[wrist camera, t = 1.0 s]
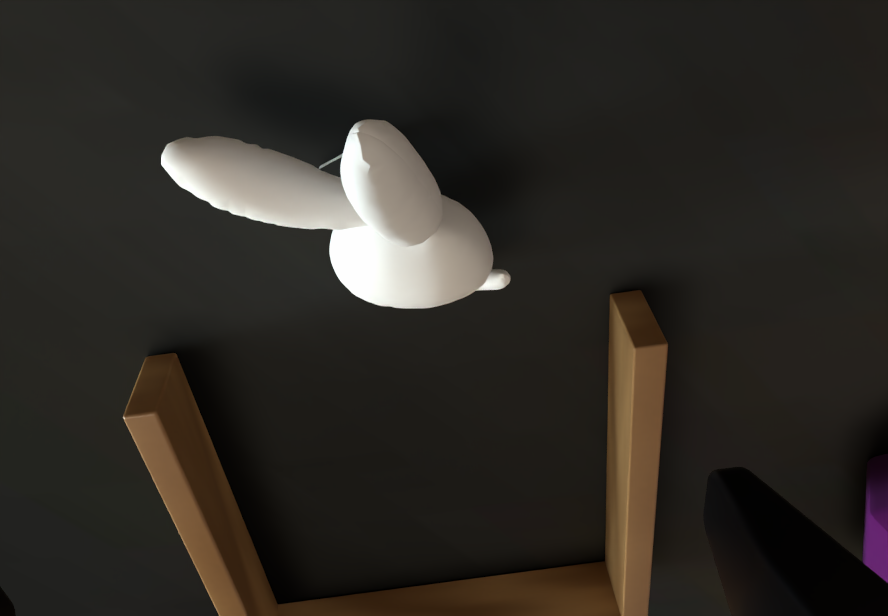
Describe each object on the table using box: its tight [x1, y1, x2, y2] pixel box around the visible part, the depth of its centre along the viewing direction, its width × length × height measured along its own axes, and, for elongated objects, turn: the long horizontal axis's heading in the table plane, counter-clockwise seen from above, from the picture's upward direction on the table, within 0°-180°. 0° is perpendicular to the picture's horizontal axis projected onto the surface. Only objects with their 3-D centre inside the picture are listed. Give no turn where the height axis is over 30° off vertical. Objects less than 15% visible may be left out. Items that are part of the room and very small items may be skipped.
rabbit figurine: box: [161, 119, 510, 308], centre depth 17 cm, size 6×4×8 cm
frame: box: [123, 290, 668, 616], centre depth 24 cm, size 14×13×2 cm
